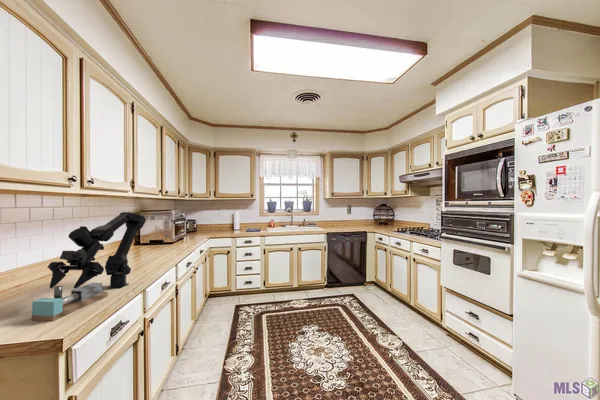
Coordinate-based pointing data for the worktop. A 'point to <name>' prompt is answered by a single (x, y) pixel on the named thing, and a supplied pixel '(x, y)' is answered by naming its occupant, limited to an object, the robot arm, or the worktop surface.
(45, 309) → the socket block
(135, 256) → the worktop surface
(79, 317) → the worktop surface
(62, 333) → the worktop surface
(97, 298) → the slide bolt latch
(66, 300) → the slip tube
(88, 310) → the worktop surface
